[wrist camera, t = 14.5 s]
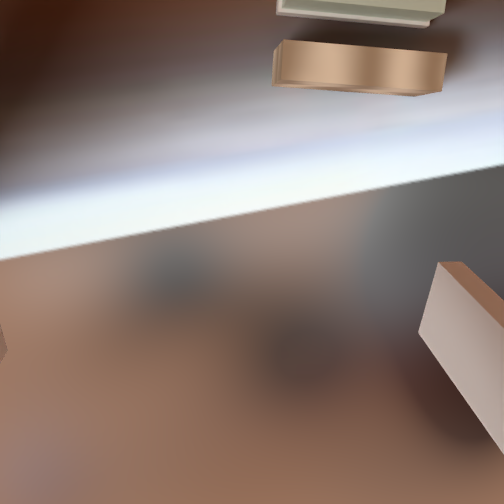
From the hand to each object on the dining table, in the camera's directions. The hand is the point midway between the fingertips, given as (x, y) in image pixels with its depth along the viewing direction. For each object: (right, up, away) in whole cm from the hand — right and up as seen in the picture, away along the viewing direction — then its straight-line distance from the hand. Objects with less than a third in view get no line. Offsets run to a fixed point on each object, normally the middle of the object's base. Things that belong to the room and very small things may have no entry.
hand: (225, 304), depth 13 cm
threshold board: (+10, +18, +28) cm, 35 cm away
